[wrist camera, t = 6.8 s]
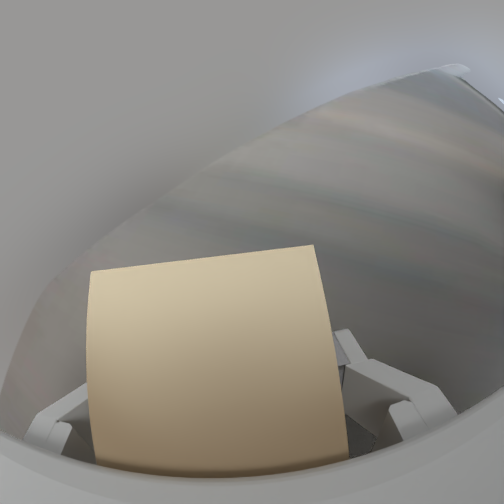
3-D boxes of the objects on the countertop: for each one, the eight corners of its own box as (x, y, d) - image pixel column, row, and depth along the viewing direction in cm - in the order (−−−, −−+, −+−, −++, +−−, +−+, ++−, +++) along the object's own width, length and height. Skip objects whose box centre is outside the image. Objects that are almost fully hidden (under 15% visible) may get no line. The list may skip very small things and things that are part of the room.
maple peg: (203, 347, 16) (91, 271, 5) (278, 339, 16) (313, 244, 5) (210, 419, 14) (101, 487, 3) (288, 412, 14) (351, 483, 3)
